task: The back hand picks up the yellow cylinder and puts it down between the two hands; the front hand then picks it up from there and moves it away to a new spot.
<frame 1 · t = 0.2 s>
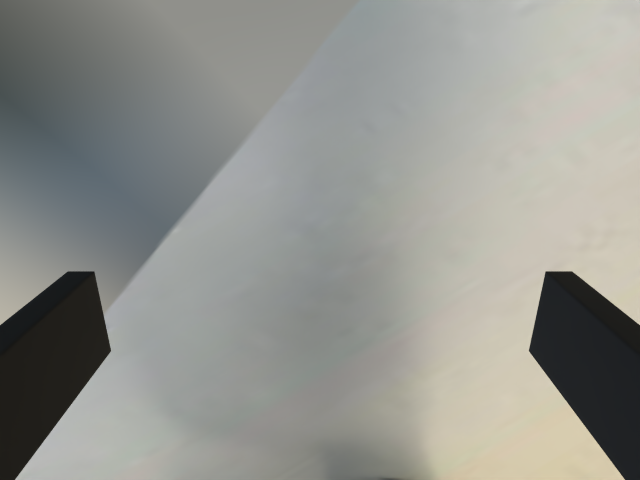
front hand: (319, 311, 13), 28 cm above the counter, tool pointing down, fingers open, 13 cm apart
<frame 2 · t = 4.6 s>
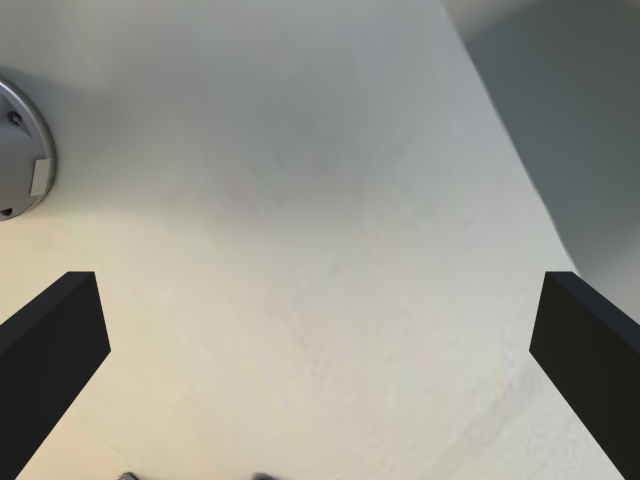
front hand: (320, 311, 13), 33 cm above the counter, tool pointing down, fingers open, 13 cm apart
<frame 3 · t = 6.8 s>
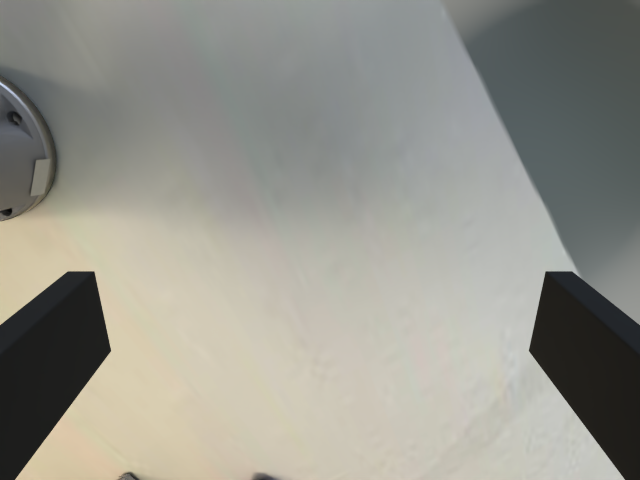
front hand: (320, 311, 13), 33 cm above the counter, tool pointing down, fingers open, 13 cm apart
when the back hand's fingers open (5 cm above the counter, at t = 9.2 s): yellow cylinder drops 2 cm, on the counter.
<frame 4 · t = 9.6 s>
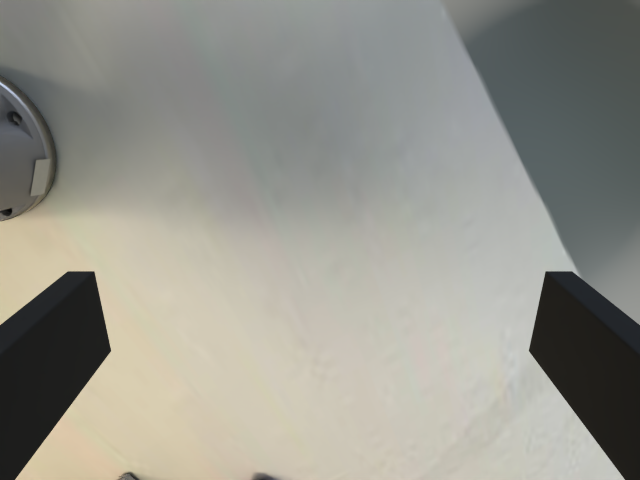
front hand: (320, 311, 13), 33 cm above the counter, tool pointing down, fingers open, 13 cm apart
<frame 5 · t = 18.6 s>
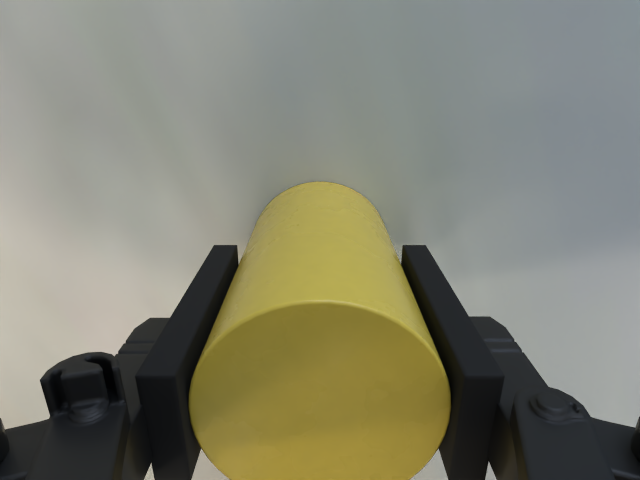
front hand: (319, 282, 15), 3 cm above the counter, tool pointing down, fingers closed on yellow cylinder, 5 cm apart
yellow cylinder: (319, 246, 17), on the counter, touching front hand
when the front hand's fingers open (5 cm above the counter, at t = 27.0 s): yellow cylinder drops 2 cm, on the counter.
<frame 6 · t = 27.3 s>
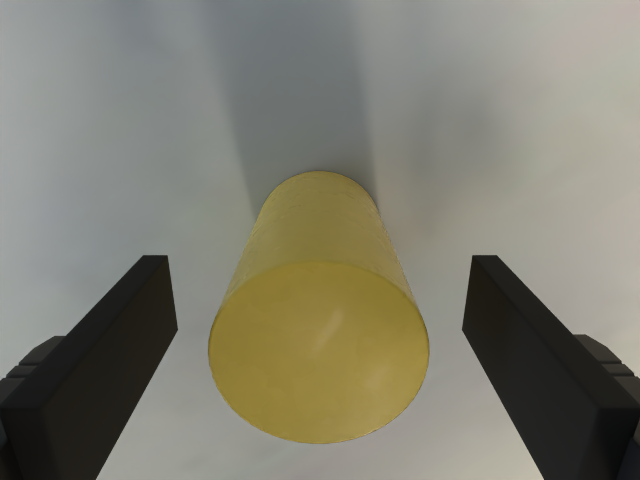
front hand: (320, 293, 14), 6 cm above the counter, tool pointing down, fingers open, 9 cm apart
yellow cylinder: (319, 231, 19), on the counter
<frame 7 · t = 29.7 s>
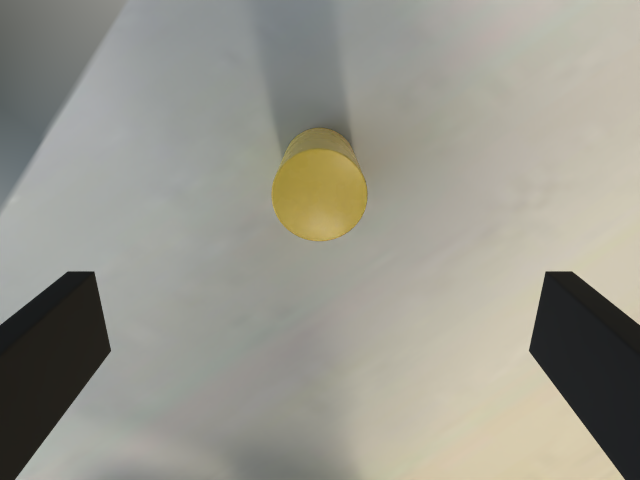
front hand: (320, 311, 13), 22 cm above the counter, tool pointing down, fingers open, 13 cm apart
yellow cylinder: (319, 164, 33), on the counter
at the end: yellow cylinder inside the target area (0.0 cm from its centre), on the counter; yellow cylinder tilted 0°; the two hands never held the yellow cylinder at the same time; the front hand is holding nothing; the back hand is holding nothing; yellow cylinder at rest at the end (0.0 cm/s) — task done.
